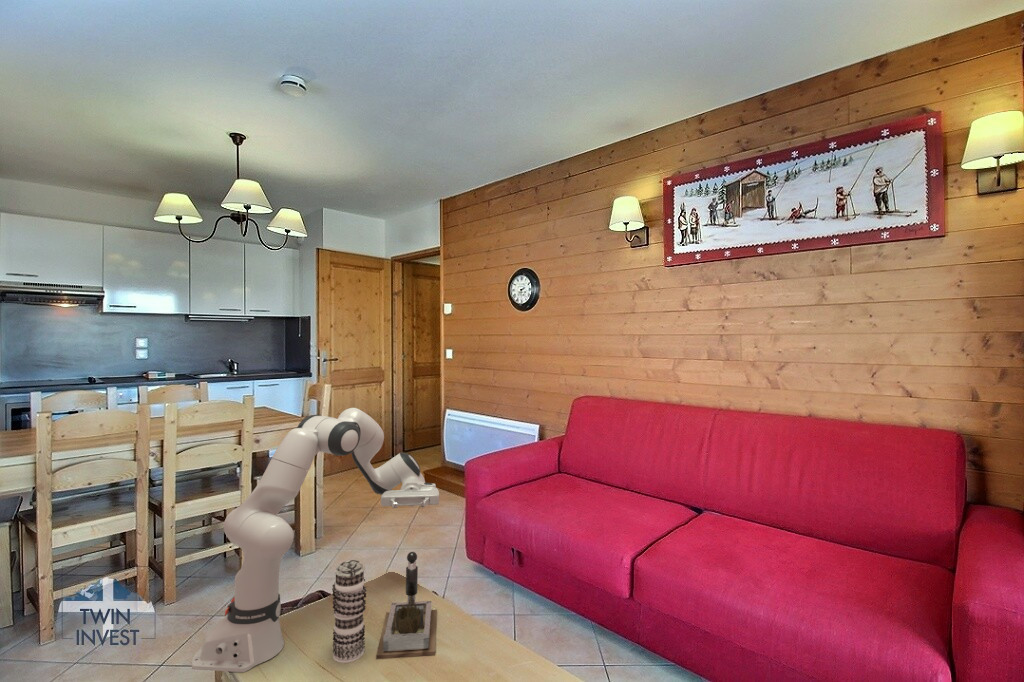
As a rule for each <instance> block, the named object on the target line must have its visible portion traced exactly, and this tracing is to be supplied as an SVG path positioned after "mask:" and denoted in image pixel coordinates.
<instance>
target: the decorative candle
mask: <svg viewBox="0 0 1024 682" xmlns="http://www.w3.org/2000/svg"><path fill="white" fill-rule="evenodd" d="M364 571H366V566H365V565H364V564H363V563H362V562H360V561H359V560H356V559H351V560H350V559H349V560H346V561H343V562H342V563H340V564H339V565H338V566H337V567H336V569H335V570H334V573H335V581H334V584H332V589H331V590H332V594H331V595H332V605H333V606H332V609H333V617H334V618H335V619H334V624H333V625H334V626H333V627H334V628H333V631H332V635H333V638H332V640H333V642H332V658H333V660H334V661H335V662H338V663H339V664H340V663H341V664H347V663H352V662H355V661H357V660H359V659H360V658H362V657H363V655H364V654H365V647H366V646H365V645H366V643H365V639H366V638H365V635H366V634H365V632H366V625H365V623H364V619H365V618H364V612H365V611H366V604H367V603H366V601H367V600H366V598H367V593H366V592H367V587H366V586H365V582H366V579H365V575H364V574H365V573H364Z"/></svg>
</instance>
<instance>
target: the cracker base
mask: <svg viewBox="0 0 1024 682" xmlns="http://www.w3.org/2000/svg"><path fill="white" fill-rule="evenodd" d="M410 607H411V606H409V608H410ZM416 607H417V609H418V607H419V610H420V609H421V619H420V626H419V629H418V630H424V627H425V615H426V613H423V606H416ZM399 608H400V609H401V607H397V610H396V613H398V609H399ZM406 608H407V607H406ZM389 613H390V611H388V612H386V611H385V616H384V620H383V624H382V629H381V633H380V636H379V641H378V647H377V650H376V655H375V659H376V660H381V659H382V660H385V659H395V658H397V659H398V658H413V657H414V658H415V657H426V656H427V657H429V656H435V655H436V640H437V639H436V635H437V621H438V620H437V616H438V614H437V613H438V609H431V622H430V637H429V649H419V650H404V651H389V652H383V637H384V635H385V631H386V627H387V622H388V617H389ZM395 631H398V629H397V622H396V617H395V622H394V627H393V632H392V634H395Z"/></svg>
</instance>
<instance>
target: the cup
mask: <svg viewBox="0 0 1024 682" xmlns="http://www.w3.org/2000/svg"><path fill="white" fill-rule="evenodd" d="M420 619H421V609H420V610H419V607H418V609H417V607H416V606H413V605H412V606H411V607H410V608H409V605H408V606H407V608H406V607H405V606H402V607H401V609H400V608H399V609H398V613H396V622H397V629H398V630H397V631H398V634H407V633H418V631H419V630H420V629H419V626H420Z"/></svg>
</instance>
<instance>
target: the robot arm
mask: <svg viewBox="0 0 1024 682" xmlns="http://www.w3.org/2000/svg"><path fill="white" fill-rule="evenodd" d="M384 439H385V434H384V431H383V429H382V427H381V426H380V425H379V423H378V422H377V421H376V420H375V419H373V417H371V416H370V415H368V414H367V413H366V412H365V411H363V410H361V409H359V408H357V407H350V408H346V409H345V410H343V411H342V412H341V413H340V414H339V415H338V417H337V418H336V417H332V416H327V415H321V414H310V415H307V416H306V417H304V418H303V419H302V420H301V421H300V422H299V424H298V425H297V427H296V428H295V427H294V428H293V429H291V430H289V431H288V432H287V434H286V435H285V436H284V437H283V439H282V440H281V442H280V443H279V445H278V447H277V448H276V449H275V452H274V453H273V455H272V457H271V459H270V460H269V463H268V465H267V467H266V469H265V471H264V473H263V474H262V477H261V479H260V480H259V482H258V484H256V486H255V488H254V489H253V490H252V491H251V493H250V494H249V495H248V496H247V498H246V499H245V500H244V501H243V502H242V503H241V505H239V506H238V507H235V508H234V509H233V510H231V511H230V512H229V513H228V515H226V518H225V520H224V522H223V532H224V534H225V535H226V537H227V539H228V540H229V542H231V543H232V544H233V545H234V546H236V547H238V548H240V549H241V550H242V553H243V560H242V564H241V567H240V569H239V570H238V571H237V572H236V574H235V576H234V596H233V597H232V599H231V600H230V603H229V604H228V605H227V608H226V609H225V611H224V616H225V617H224V618H222V619H221V620H219V621H218V622H217V623H215V625H214V626H212V628H211V629H210V630H209V631H208V632H207V634H206V636H205V638H204V641H203V643H202V645H201V646H200V647H199V648H198V650H197V651H196V652H195V654H194V656H193V657H192V660H191V665H190V666H191V670H197V671H198V670H199V671H215V672H228V673H229V672H232V673H245V672H247V671H249V670H250V669H252V668H254V667H255V666H257V665H260V664H263V663H265V662H267V661H268V660H271V659H272V658H274V657H275V656H277V655H278V654H279V653H280V652H281V651H282V650H283V648H284V646H285V640H284V638H283V633H282V629H281V623H280V622H281V621H280V615H281V604H282V603H281V595H280V593H279V588H280V587H279V584H280V568H281V563H282V561H283V557H284V555H285V554H286V553H287V552H288V551H289V550H290V548H291V547H292V545H293V541H294V537H295V535H294V530H293V528H292V526H291V525H290V524H289V523H288V522H287V521H286V520H285V519H284V518H282V517H281V516H278V514H279V513H280V512H281V510H282V509H283V508H284V507H285V506H286V504H287V503H289V502H291V501H292V500H295V498H296V497H297V496H298V494H299V492H300V490H301V487H302V485H303V483H304V481H305V480H306V477H307V475H308V473H309V471H310V468H311V466H312V464H313V462H314V459H315V456H316V455H317V454H318V453H320V452H321V453H323V454H324V453H325V454H328V455H330V454H331V455H334V456H338V457H340V456H342V457H343V456H348V455H351V458H352V460H353V462H354V465H356V467H357V468H358V470H359V472H360V473H361V474H362V476H363V477H364V479H365V480H366V481H367V482H368V484H369V486H370V488H371V490H372V491H373V492H374V493H375V494H377V495H381V496H380V506H382V507H392V509H398V507H404V506H405V507H407V506H408V507H414V506H420V508H426V507H427V506H437V505H439V504H440V491H439V489H438V488H437V486H436V483H432V482H426V480H425V477H424V475H423V474H422V473H421V467H420V465H419V463H418V461H417V460H416V459H415V458H414V456H413V455H411V454H410V453H406V452H399V453H398V454H397V455H394V457H393V456H392V457H391V459H389V460H388V461H386V462H385V463H384V464H382V465H380V466H379V467H376V468H374V466H373V465H372V464H371V460H372V459H373V458H374V457H375V455H376V454H378V452H379V451H380V450H381V449H382V446H383V443H384ZM401 483H402V484H401ZM399 485H401V487H400V489H395V488H396V487H397V486H399ZM393 489H394V490H393Z"/></svg>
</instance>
